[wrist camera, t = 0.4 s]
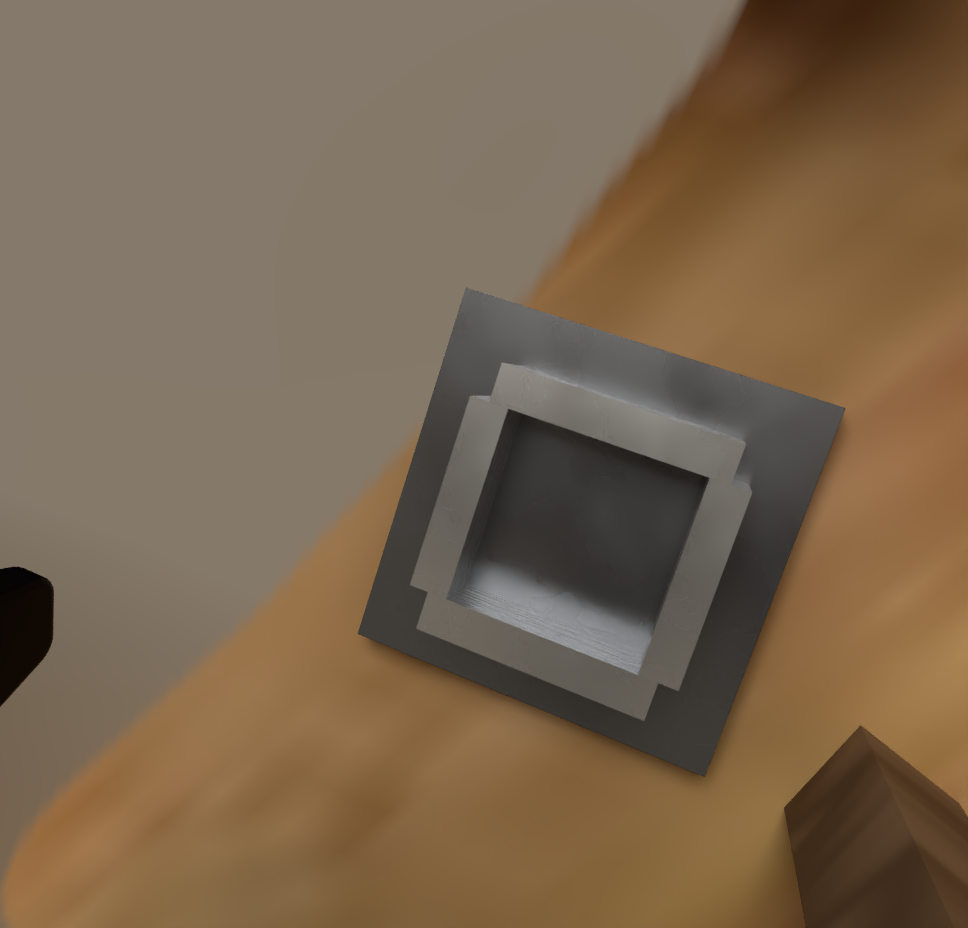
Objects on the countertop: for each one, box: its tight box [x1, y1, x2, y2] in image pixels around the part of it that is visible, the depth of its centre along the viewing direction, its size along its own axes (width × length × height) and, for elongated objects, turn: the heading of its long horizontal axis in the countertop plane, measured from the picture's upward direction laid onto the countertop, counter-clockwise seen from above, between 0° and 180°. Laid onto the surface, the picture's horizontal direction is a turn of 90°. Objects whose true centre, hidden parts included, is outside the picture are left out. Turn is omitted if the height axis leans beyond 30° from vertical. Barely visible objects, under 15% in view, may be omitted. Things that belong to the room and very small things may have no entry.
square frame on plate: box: [358, 288, 845, 777], centre depth 23 cm, size 10×10×3 cm
